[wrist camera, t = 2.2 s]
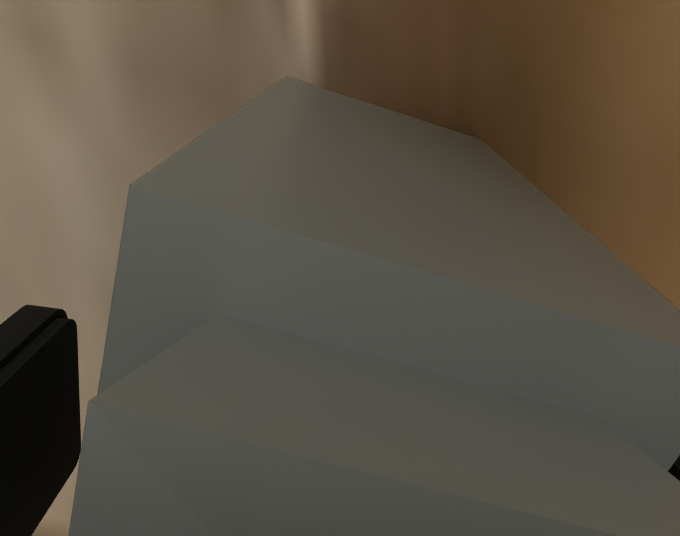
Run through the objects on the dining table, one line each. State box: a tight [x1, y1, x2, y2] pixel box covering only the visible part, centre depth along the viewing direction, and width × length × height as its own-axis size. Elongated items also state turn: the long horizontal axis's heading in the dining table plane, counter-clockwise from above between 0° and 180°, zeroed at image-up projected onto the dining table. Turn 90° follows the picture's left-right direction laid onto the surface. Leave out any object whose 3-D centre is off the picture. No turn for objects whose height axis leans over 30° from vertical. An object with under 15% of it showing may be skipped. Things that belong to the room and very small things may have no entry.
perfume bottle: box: [69, 76, 680, 536], centre depth 11 cm, size 7×7×18 cm
